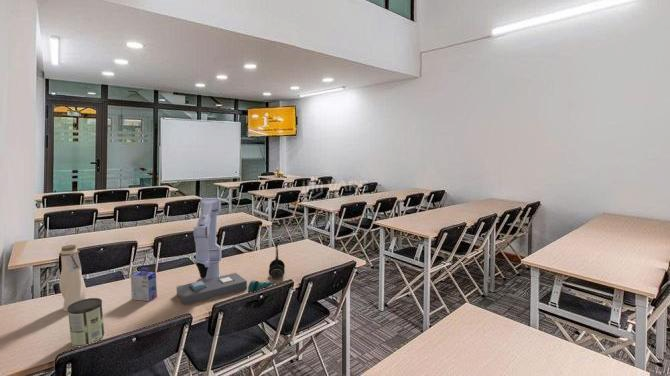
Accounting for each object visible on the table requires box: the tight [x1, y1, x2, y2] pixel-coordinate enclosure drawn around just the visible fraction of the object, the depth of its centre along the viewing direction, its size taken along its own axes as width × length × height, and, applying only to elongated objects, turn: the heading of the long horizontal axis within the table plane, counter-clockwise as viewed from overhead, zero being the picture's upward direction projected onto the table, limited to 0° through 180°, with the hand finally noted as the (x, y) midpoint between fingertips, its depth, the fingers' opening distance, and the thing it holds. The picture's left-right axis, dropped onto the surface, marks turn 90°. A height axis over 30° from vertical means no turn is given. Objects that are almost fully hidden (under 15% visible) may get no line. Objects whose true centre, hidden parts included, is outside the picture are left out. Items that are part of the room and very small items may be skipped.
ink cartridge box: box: [130, 266, 158, 302], centre depth 160 cm, size 10×6×14 cm, turn 79°
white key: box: [220, 277, 233, 284], centre depth 173 cm, size 5×5×3 cm
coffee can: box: [67, 297, 106, 348], centre depth 125 cm, size 10×10×14 cm
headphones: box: [268, 240, 286, 280], centre depth 188 cm, size 9×15×20 cm, turn 8°
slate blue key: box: [191, 280, 205, 291], centre depth 164 cm, size 5×5×3 cm
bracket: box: [247, 279, 277, 294], centre depth 168 cm, size 18×7×8 cm, turn 162°
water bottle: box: [58, 244, 87, 312], centre depth 149 cm, size 10×9×28 cm
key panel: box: [176, 272, 248, 306], centre depth 168 cm, size 14×30×4 cm, turn 129°
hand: (203, 277), depth 165 cm, fingers closed
